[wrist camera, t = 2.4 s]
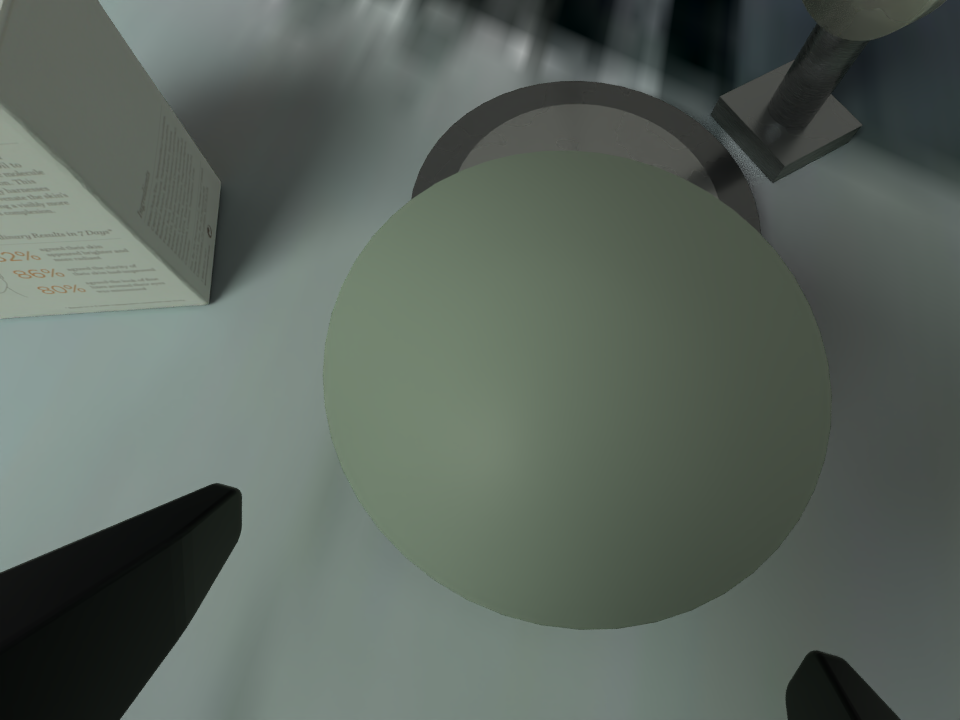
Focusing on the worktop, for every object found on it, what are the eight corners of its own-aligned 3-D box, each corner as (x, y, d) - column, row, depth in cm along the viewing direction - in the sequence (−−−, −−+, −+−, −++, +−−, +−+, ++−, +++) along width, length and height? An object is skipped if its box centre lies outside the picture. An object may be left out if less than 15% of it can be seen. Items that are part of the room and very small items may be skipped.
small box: (226, 184, 23) (42, -104, 13) (213, 310, 21) (-15, 81, 12) (23, 195, 23) (-315, -89, 13) (-9, 323, 21) (-433, 101, 11)
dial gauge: (777, 72, 25) (963, -242, 16) (854, 149, 24) (1111, -145, 14) (704, 108, 25) (852, -198, 15) (779, 189, 23) (996, -91, 13)
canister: (458, 624, 18) (412, 727, 5) (400, 444, 20) (271, 225, 7) (634, 553, 18) (938, 507, 6) (561, 387, 20) (684, 102, 8)
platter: (480, 442, 20) (480, 432, 18) (371, 149, 24) (365, 126, 23) (814, 321, 21) (834, 305, 20) (656, 67, 25) (665, 41, 24)
